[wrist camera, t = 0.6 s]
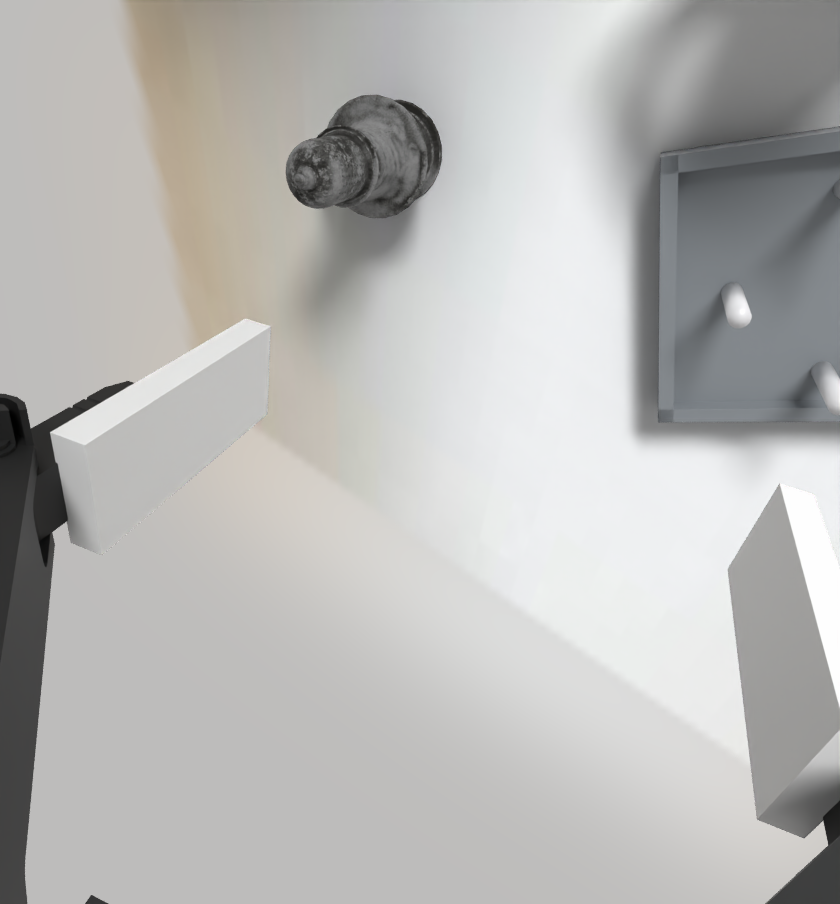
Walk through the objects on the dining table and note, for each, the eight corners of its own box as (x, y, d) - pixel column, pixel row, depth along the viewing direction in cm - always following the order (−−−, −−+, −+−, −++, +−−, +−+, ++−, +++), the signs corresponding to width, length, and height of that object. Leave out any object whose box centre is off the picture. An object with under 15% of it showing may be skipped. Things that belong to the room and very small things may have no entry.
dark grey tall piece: (467, 162, 35) (390, 194, 25) (392, 228, 38) (297, 279, 28) (402, 67, 34) (294, 62, 24) (330, 143, 37) (208, 166, 27)
